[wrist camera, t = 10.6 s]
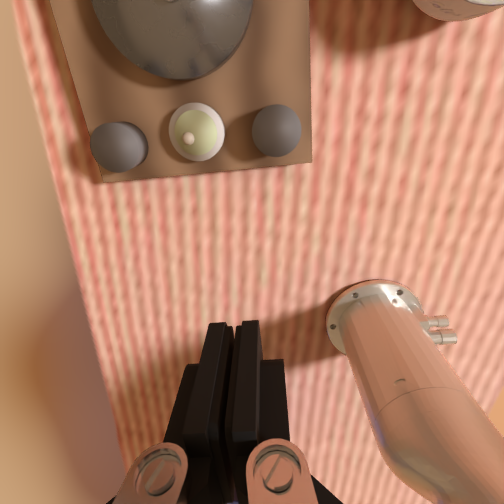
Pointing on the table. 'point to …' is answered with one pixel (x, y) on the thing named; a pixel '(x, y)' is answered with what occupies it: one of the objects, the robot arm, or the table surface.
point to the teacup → (457, 8)
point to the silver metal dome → (175, 33)
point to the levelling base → (194, 99)
